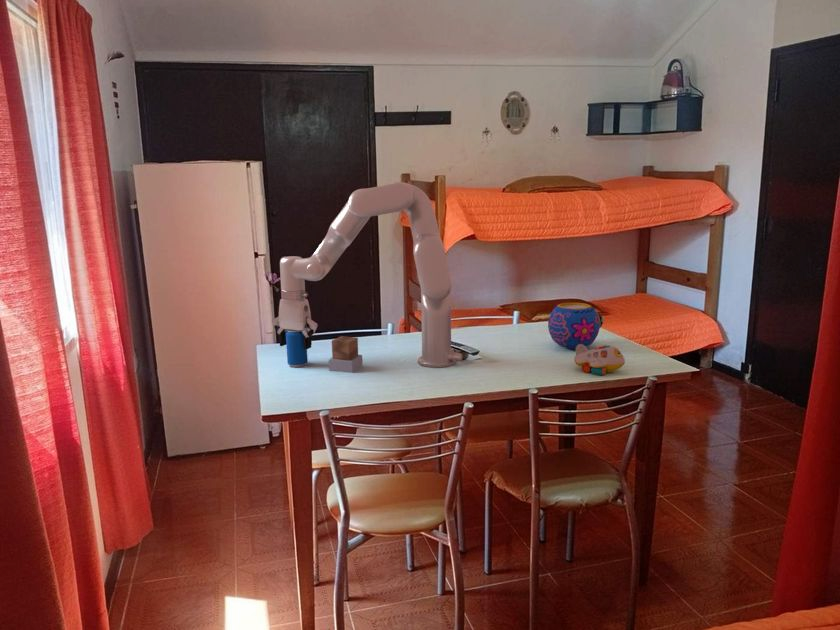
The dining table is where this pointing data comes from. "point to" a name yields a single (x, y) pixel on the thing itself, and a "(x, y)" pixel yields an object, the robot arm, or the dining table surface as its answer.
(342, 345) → the walnut cube
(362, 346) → the dining table surface
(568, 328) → the ceramic pot
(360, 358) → the base block
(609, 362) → the toy airplane
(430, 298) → the robot arm
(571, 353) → the dining table surface
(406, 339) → the dining table surface
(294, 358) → the beverage can
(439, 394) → the dining table surface
